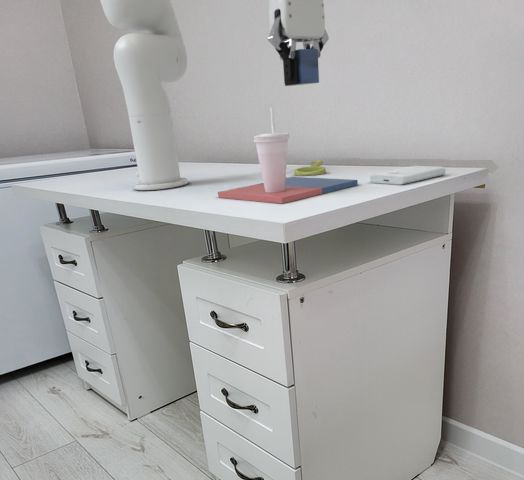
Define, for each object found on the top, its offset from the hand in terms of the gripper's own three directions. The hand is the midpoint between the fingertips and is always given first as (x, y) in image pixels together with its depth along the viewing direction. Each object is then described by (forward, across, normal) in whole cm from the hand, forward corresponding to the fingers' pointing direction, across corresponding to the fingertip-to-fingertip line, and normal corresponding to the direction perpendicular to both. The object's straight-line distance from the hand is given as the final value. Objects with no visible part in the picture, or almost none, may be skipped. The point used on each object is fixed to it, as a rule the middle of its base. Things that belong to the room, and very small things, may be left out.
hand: (301, 82), depth 100 cm
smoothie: (+18, +11, +2) cm, 21 cm away
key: (+19, -17, -15) cm, 29 cm away
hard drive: (+19, -13, +14) cm, 27 cm away
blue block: (0, 0, 0) cm, 0 cm away
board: (+19, +6, 0) cm, 20 cm away
